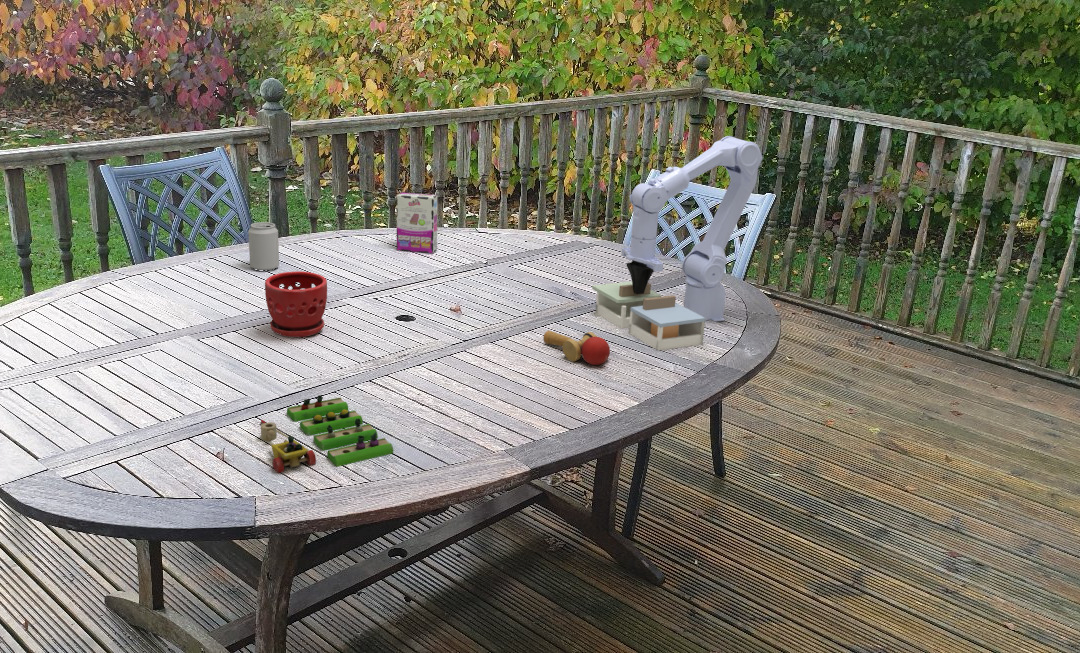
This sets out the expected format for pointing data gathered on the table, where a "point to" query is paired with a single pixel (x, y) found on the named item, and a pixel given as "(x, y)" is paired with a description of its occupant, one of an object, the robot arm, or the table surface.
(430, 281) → the table surface
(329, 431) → the toy garden set
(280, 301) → the plant pot
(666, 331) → the block
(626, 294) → the lid
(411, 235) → the candy bar box
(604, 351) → the kendama
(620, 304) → the crate
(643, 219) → the robot arm
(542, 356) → the table surface
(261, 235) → the can
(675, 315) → the lid
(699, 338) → the crate
